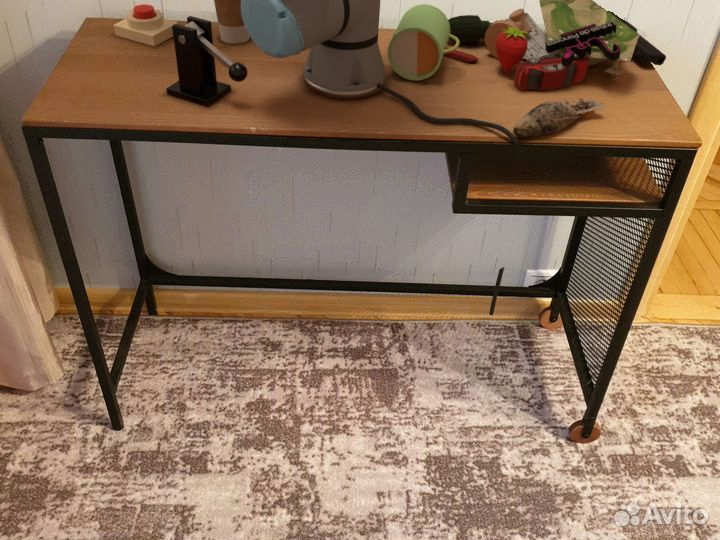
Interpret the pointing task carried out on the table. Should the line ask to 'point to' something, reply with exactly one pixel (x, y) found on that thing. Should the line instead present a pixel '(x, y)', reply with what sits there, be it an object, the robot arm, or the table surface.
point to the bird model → (552, 117)
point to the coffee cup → (231, 21)
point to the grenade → (468, 28)
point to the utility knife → (461, 55)
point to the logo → (584, 42)
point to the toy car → (549, 73)
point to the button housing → (145, 28)
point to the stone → (536, 42)
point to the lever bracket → (195, 66)
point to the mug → (420, 42)
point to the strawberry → (511, 47)
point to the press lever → (220, 56)
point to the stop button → (144, 11)
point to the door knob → (503, 24)
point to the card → (576, 10)
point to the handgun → (645, 48)
